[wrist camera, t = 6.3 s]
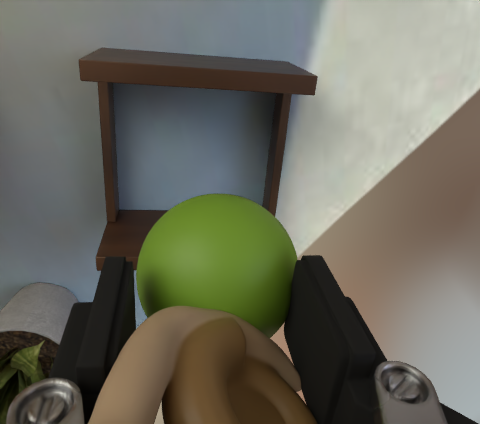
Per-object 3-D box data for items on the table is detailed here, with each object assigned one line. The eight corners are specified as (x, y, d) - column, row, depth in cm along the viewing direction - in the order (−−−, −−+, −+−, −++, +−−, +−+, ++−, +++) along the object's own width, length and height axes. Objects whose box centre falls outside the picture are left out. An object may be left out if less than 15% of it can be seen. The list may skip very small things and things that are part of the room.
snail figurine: (172, 125, 14) (168, 498, 3) (305, 217, 16) (538, 599, 6) (92, 238, 16) (-81, 735, 5) (224, 306, 18) (295, 736, 7)
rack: (101, 47, 25) (78, 59, 19) (288, 61, 27) (318, 76, 21) (111, 221, 31) (96, 270, 25) (267, 223, 32) (286, 269, 27)
